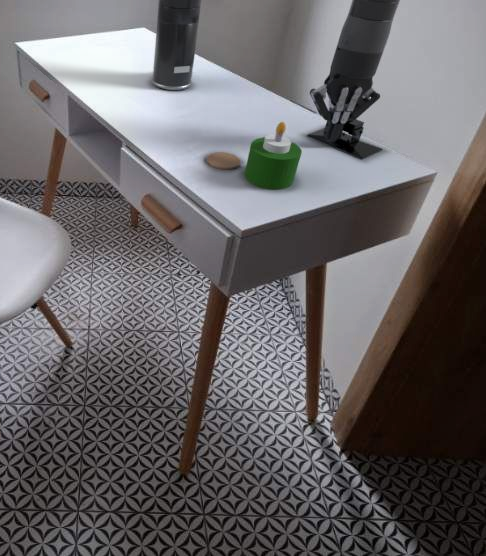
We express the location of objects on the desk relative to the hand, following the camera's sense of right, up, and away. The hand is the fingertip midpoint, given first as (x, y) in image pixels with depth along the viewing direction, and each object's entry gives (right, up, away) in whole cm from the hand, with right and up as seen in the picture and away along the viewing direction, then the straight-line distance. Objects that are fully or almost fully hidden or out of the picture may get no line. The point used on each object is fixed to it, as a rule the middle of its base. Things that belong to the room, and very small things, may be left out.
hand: (329, 139), depth 99 cm
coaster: (-22, -5, -6) cm, 23 cm away
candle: (-15, -9, -10) cm, 20 cm away
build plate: (+4, 0, +2) cm, 4 cm away
